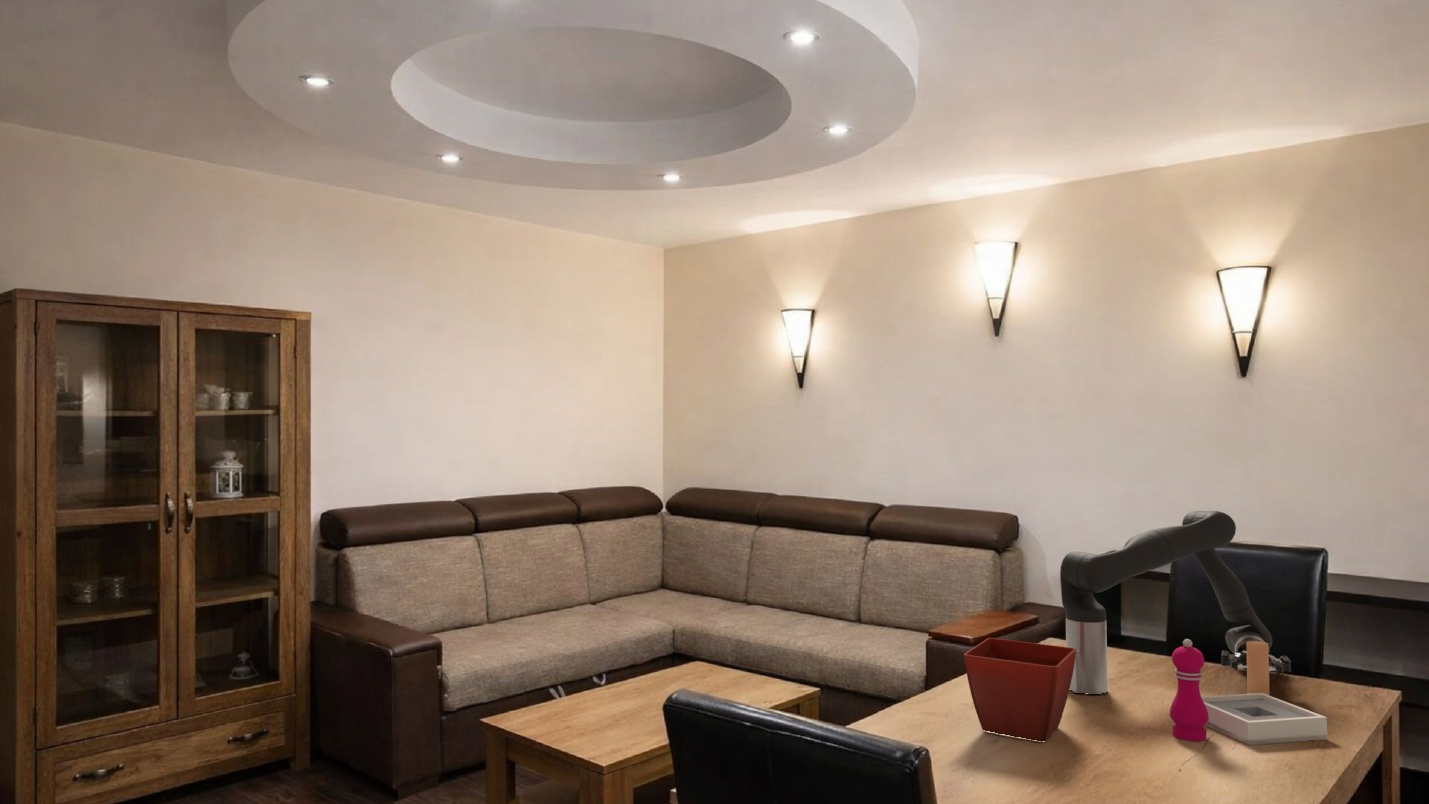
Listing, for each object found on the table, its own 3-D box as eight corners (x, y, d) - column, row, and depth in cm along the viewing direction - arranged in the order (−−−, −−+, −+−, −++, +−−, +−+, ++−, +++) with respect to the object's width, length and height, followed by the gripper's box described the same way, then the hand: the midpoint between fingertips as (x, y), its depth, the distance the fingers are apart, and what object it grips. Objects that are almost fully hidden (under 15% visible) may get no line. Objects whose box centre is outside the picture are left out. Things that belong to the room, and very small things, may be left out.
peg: (1257, 707, 215) (1255, 645, 215) (1243, 702, 219) (1241, 641, 220) (1274, 706, 216) (1272, 644, 216) (1260, 701, 220) (1258, 640, 220)
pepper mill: (1206, 732, 198) (1204, 636, 199) (1212, 743, 191) (1209, 644, 192) (1168, 729, 201) (1166, 634, 201) (1172, 740, 194) (1170, 641, 194)
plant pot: (1078, 726, 203) (1077, 647, 204) (1058, 752, 187) (1056, 666, 188) (989, 712, 214) (988, 636, 214) (963, 735, 198) (962, 654, 198)
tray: (1248, 745, 190) (1247, 722, 190) (1189, 717, 208) (1188, 697, 208) (1327, 739, 193) (1326, 717, 193) (1262, 713, 211) (1261, 692, 211)
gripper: (1219, 634, 237) (1221, 648, 222) (1285, 640, 230) (1292, 655, 216) (1220, 665, 237) (1222, 681, 222) (1286, 671, 230) (1293, 688, 216)
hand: (1257, 668), depth 219 cm, fingers open, 8 cm apart
